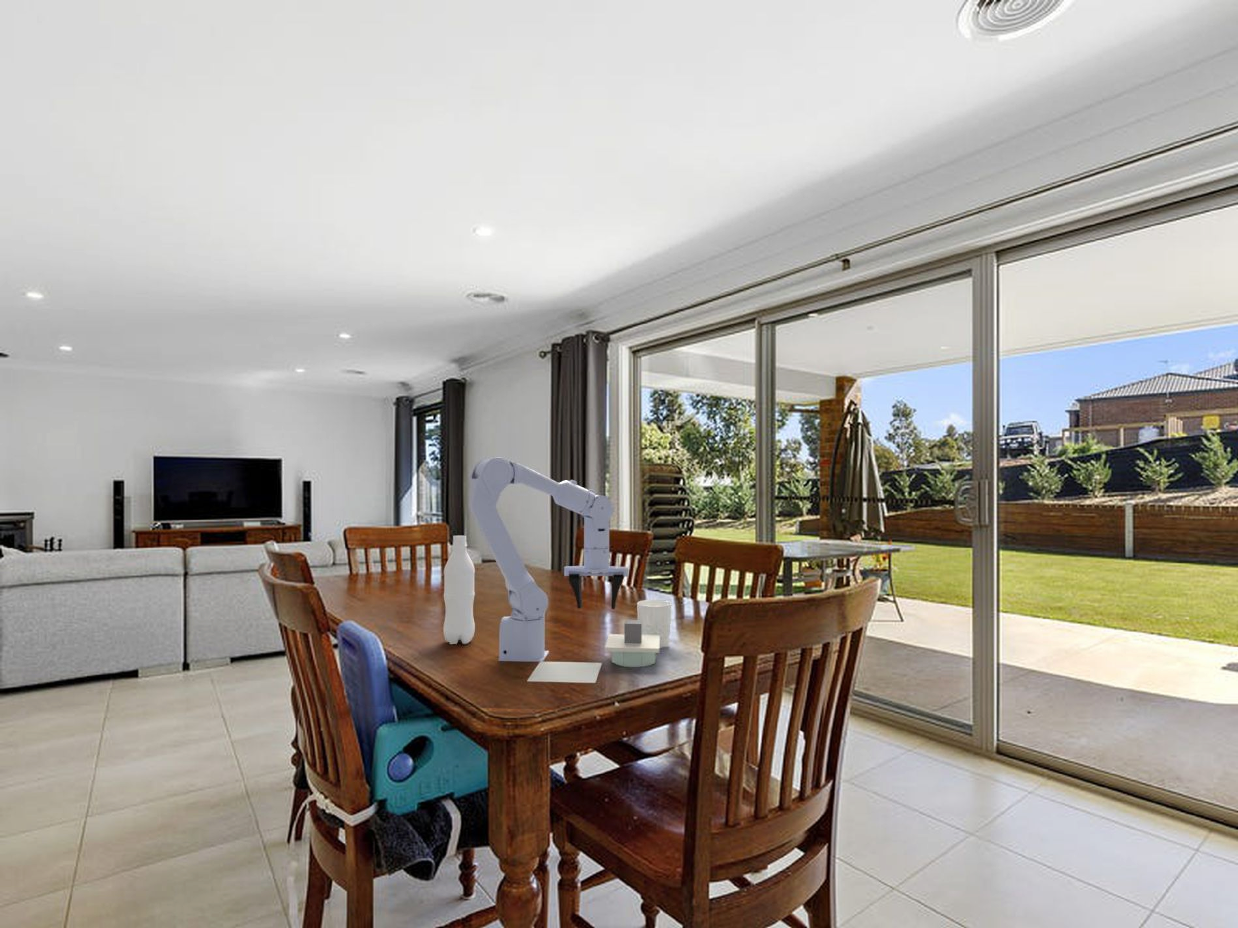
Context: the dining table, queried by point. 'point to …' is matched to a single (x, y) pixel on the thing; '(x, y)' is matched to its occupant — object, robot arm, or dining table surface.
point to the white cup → (655, 619)
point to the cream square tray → (566, 672)
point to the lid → (633, 639)
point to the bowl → (633, 659)
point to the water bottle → (459, 594)
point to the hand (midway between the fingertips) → (596, 607)
